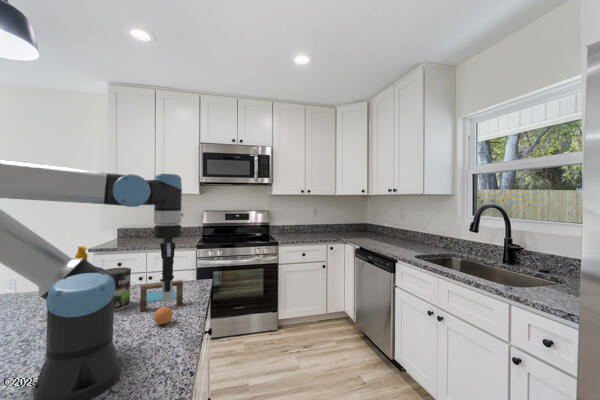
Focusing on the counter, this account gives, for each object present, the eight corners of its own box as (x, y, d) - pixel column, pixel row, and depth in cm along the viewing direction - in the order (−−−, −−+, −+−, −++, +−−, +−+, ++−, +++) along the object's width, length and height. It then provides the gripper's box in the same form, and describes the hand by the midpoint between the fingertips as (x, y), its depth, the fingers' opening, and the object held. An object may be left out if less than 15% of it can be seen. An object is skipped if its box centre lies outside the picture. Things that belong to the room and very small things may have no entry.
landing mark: (176, 297, 114) (176, 297, 114) (144, 302, 108) (144, 302, 108) (174, 289, 124) (174, 289, 124) (144, 293, 118) (144, 293, 118)
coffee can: (136, 302, 108) (136, 267, 108) (118, 312, 98) (119, 274, 98) (111, 301, 108) (111, 266, 109) (90, 312, 98) (91, 273, 98)
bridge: (182, 305, 106) (182, 281, 106) (140, 311, 99) (140, 287, 99) (181, 302, 109) (182, 279, 109) (140, 308, 102) (140, 284, 102)
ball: (167, 327, 87) (167, 310, 87) (150, 327, 87) (151, 310, 87) (175, 320, 93) (175, 304, 93) (159, 319, 93) (160, 304, 93)
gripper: (183, 225, 78) (182, 306, 78) (179, 222, 90) (178, 292, 89) (154, 226, 75) (153, 311, 74) (153, 223, 86) (152, 296, 86)
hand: (167, 301), depth 82 cm, fingers closed
